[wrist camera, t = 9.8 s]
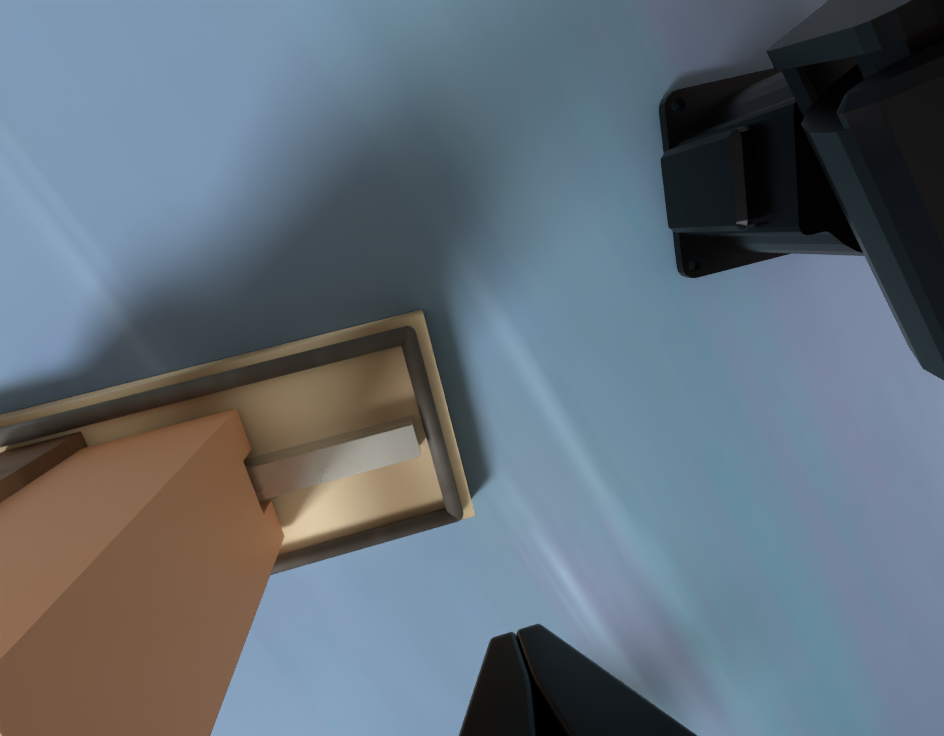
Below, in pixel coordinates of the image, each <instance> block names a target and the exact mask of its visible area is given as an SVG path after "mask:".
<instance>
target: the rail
mask: <svg viewBox="0 0 944 736" xmlns="http://www.w3.org/2000/svg"><path fill="white" fill-rule="evenodd" d="M417 457H421V448H420V443H419V439H418V436H417V432H416V429H415V425H414V421H413V418H412V415H410V416H406V417H402V418H399V419H395V420H391V421H387V422H384V423H380V424H376V425H372V426H369V427H365V428H361V429H357V430H354V431H350V432H346V433H342V434H338V435H335V436H331V437H327V438H323V439H320V440H316V441H312V442H308V443H305V444H301V445H297V446H293V447H290V448H286V449H282V450H278V451H275V452H271V453H267V454H263V455H260V456H256V457H252V458H248V459H245V460H244V461H243V462H244V465H245V467H246V470H247V472H248V475H249V478H250V480H251V483H252V485H253V488H254V491H255V493H256V496H257V498H258V501H260V500H264V499H267V498H271V497H275V496H278V495H282V494H286V493H289V492H293V491H297V490H300V489H304V488H308V487H311V486H315V485H319V484H322V483H326V482H330V481H333V480H337V479H341V478H344V477H348V476H352V475H355V474H359V473H362V472H366V471H370V470H373V469H377V468H381V467H384V466H388V465H392V464H395V463H399V462H403V461H406V460H410V459H414V458H417Z"/></svg>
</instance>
